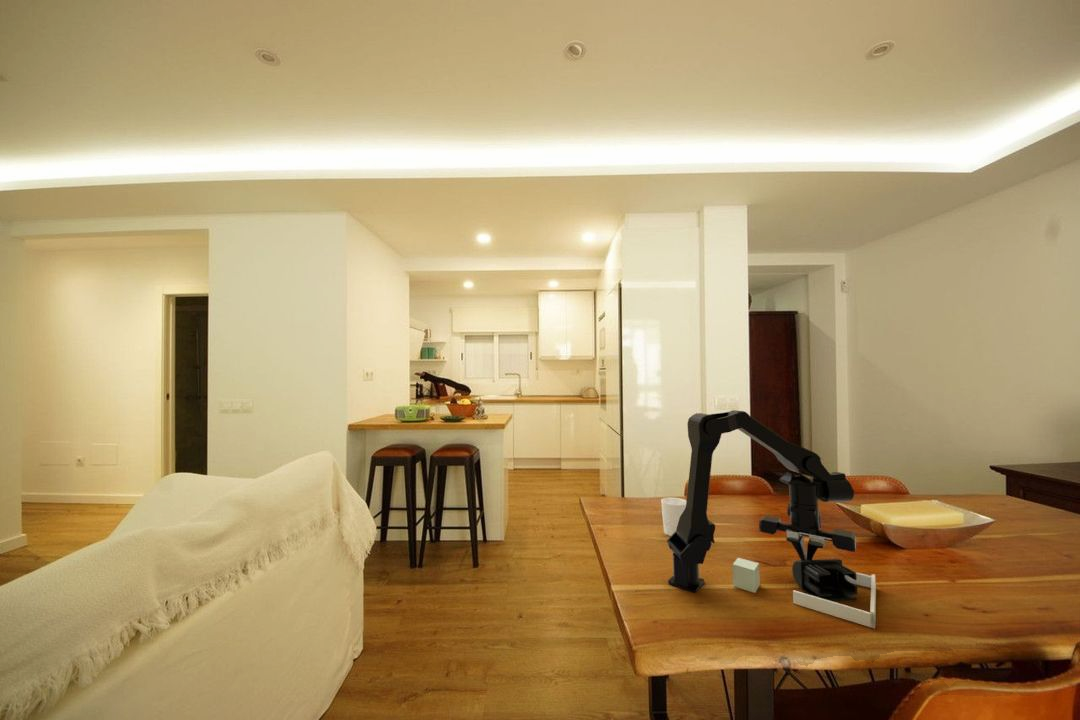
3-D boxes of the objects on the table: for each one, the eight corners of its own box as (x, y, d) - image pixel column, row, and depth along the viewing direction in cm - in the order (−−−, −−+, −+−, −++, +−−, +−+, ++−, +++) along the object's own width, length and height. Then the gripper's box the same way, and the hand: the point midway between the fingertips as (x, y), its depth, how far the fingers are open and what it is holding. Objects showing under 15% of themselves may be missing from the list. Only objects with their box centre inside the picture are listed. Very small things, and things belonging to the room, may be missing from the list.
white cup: (684, 540, 116) (683, 506, 116) (658, 534, 120) (657, 501, 121) (691, 532, 122) (690, 500, 122) (667, 527, 127) (666, 495, 127)
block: (755, 593, 86) (754, 570, 87) (733, 586, 89) (732, 564, 90) (759, 585, 90) (758, 563, 90) (738, 579, 93) (737, 557, 93)
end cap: (832, 583, 90) (830, 553, 91) (859, 600, 83) (858, 568, 84) (792, 585, 90) (790, 555, 90) (816, 603, 82) (815, 570, 83)
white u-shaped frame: (875, 628, 73) (874, 612, 74) (793, 603, 82) (792, 588, 82) (875, 588, 88) (875, 574, 88) (806, 570, 97) (805, 558, 97)
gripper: (855, 501, 93) (859, 568, 92) (766, 488, 105) (769, 547, 104) (852, 513, 85) (857, 587, 84) (757, 497, 97) (760, 561, 96)
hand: (807, 568), depth 92 cm, fingers closed
